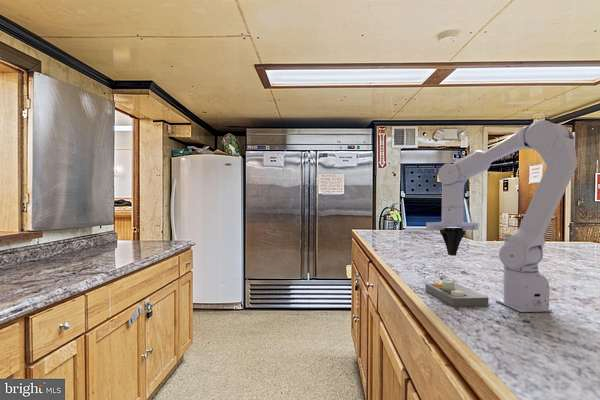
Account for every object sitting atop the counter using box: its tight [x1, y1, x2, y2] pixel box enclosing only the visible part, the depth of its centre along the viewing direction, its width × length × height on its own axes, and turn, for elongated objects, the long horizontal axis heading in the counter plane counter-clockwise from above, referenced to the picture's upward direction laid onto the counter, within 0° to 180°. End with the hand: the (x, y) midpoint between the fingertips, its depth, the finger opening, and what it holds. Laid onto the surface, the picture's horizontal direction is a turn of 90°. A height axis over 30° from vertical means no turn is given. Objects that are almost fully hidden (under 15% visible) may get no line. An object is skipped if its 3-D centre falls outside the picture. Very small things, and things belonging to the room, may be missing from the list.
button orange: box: [433, 281, 442, 288], centre depth 102 cm, size 3×3×2 cm
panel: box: [424, 282, 489, 308], centre depth 97 cm, size 15×9×2 cm, turn 6°
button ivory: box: [451, 290, 464, 296], centre depth 93 cm, size 3×3×2 cm
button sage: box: [442, 280, 456, 292], centre depth 98 cm, size 3×3×2 cm
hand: (452, 255), depth 106 cm, fingers closed
